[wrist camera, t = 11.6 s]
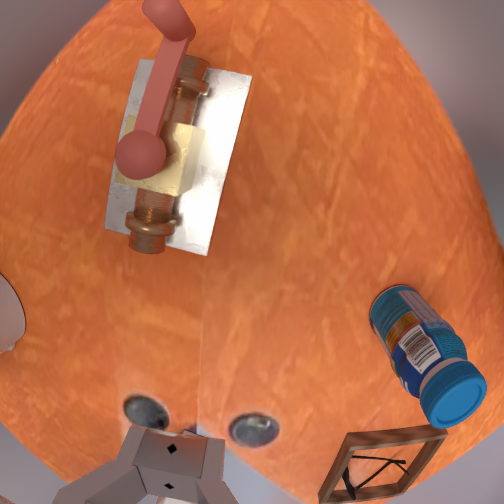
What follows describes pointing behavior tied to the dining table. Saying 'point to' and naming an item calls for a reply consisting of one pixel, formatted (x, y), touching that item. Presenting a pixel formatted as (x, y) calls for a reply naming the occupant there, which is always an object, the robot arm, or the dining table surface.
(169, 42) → the lever
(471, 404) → the beverage bottle
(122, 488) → the robot arm
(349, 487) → the sunglasses
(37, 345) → the dining table surface
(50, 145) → the dining table surface
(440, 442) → the glasses tray
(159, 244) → the valve body
